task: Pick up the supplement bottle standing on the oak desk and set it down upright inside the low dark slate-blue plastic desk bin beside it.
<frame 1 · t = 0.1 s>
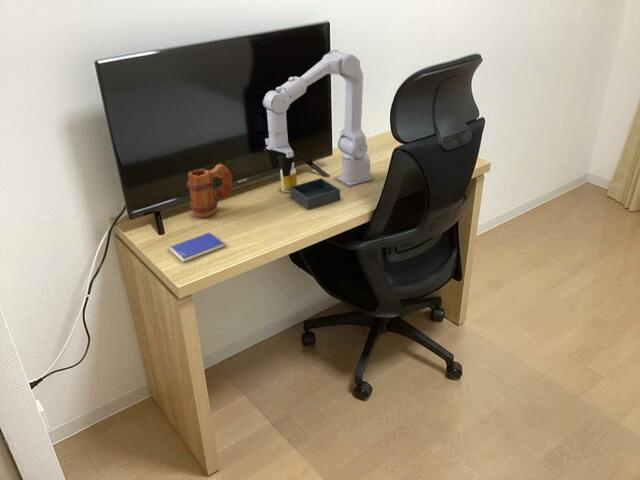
hand: (280, 171, 184), 10 cm above the table, tool pointing down, fingers open, 7 cm apart
mug: (213, 212, 183), on the table
supplement bottle: (289, 190, 196), on the table
bin: (315, 198, 189), on the table
hard drive: (197, 249, 163), on the table
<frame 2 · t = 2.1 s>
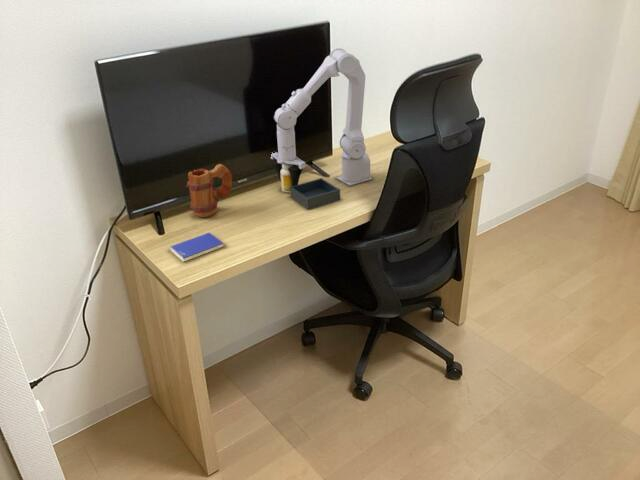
hand: (288, 183, 195), 2 cm above the table, tool pointing down, fingers closed on supplement bottle, 5 cm apart
supplement bottle: (289, 190, 196), on the table, touching gripper
everything else where it was.
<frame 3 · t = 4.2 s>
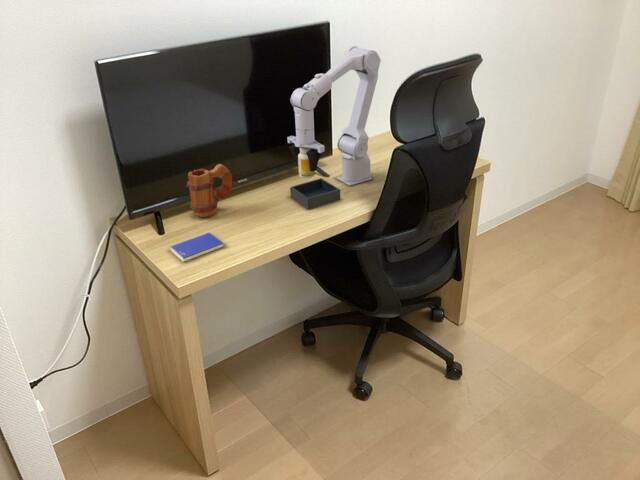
hand: (306, 168, 186), 10 cm above the table, tool pointing down, fingers closed on supplement bottle, 5 cm apart
supplement bottle: (307, 175, 188), point 7 cm above the table, touching gripper
everything else where it was.
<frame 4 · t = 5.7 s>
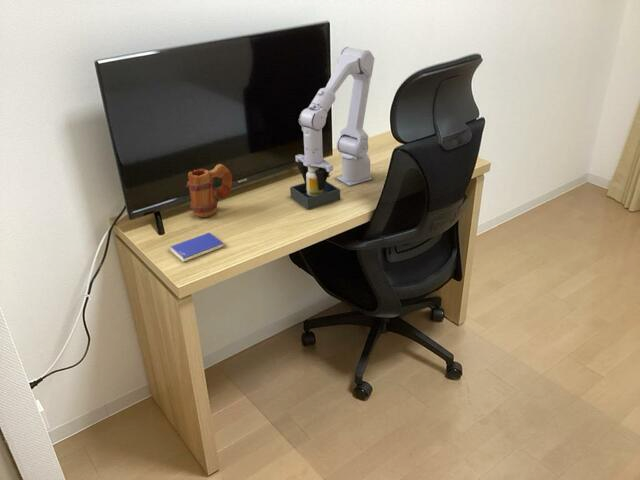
hand: (314, 186, 187), 4 cm above the table, tool pointing down, fingers closed on supplement bottle, 5 cm apart
supplement bottle: (315, 194, 188), point 2 cm above the table, touching gripper
everything else where it was.
when the fingers open (3 cm above the table, at t = 6.7 s): supplement bottle stays where it is, resting on bin.
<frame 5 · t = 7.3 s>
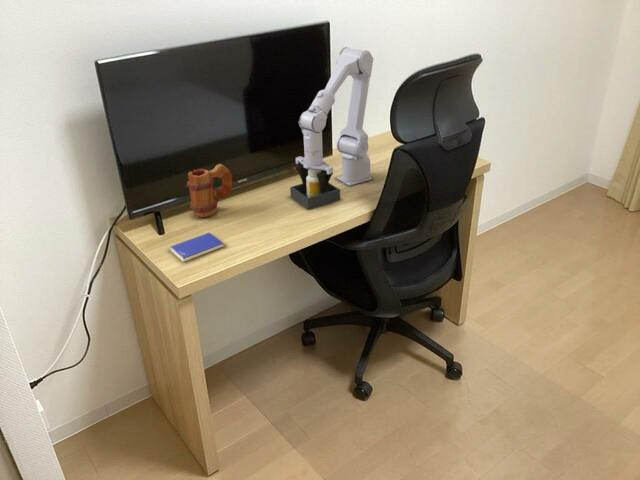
hand: (314, 188, 188), 4 cm above the table, tool pointing down, fingers open, 7 cm apart
supplement bottle: (315, 197, 189), resting on bin
everything else where it was.
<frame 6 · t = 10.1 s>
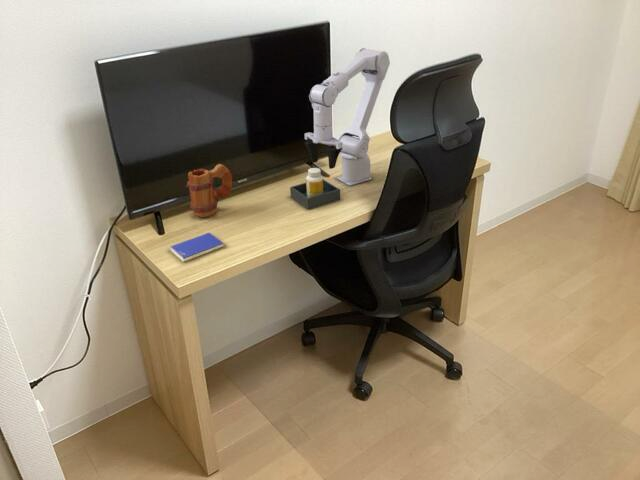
hand: (323, 164, 187), 10 cm above the table, tool pointing down, fingers open, 7 cm apart
nothing on the table moved.
at the end: supplement bottle inside the target area in the bin (0.1 cm from its centre), point 0.3 cm above the bin's base; supplement bottle tilted 0°; the gripper is holding nothing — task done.
